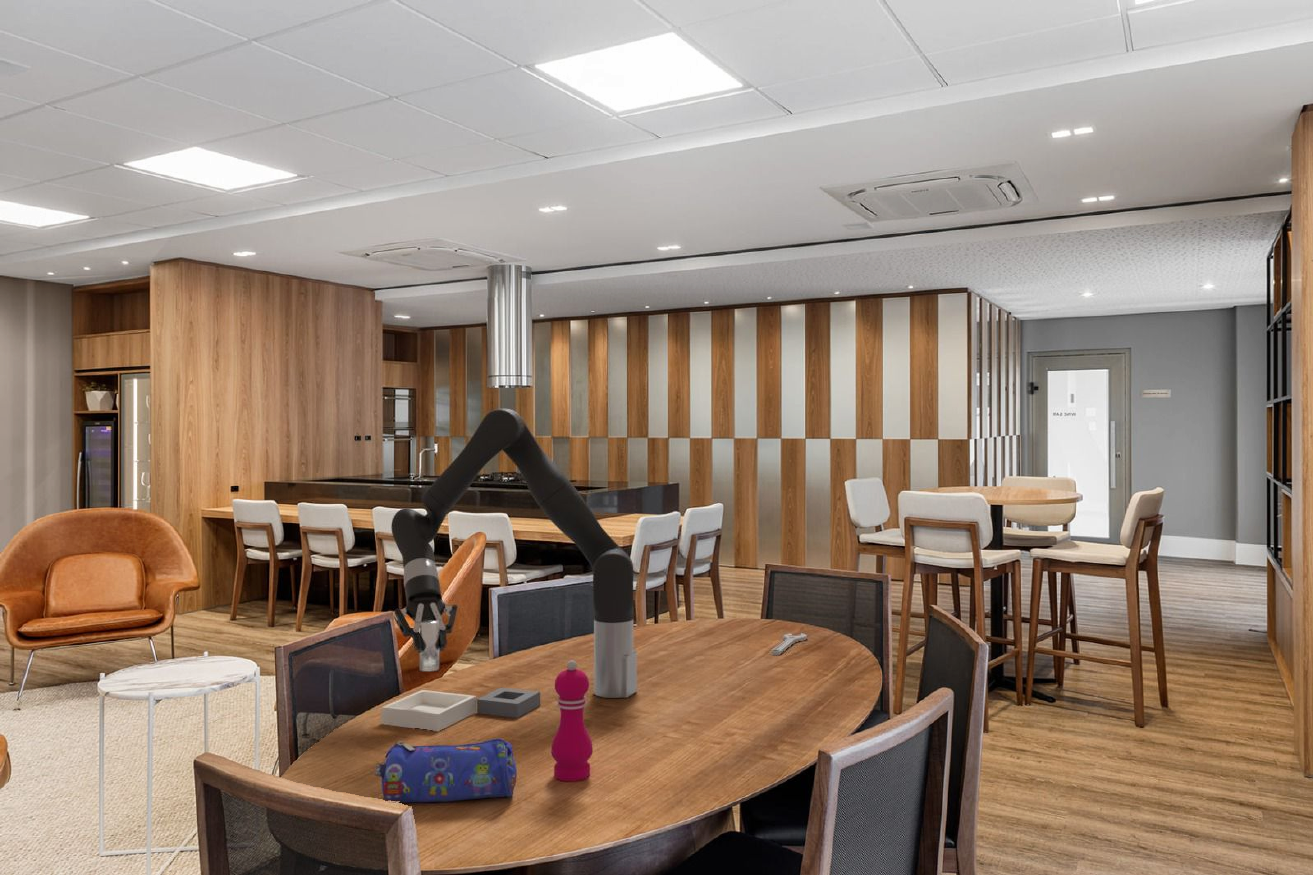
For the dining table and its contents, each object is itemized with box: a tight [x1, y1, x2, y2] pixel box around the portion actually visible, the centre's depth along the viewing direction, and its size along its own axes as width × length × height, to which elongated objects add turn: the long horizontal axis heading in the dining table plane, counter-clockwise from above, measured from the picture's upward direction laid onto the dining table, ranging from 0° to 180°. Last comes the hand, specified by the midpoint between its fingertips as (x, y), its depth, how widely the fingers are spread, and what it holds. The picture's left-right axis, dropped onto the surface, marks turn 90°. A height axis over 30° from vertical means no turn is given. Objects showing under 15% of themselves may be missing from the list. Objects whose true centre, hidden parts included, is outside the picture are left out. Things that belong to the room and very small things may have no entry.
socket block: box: [476, 687, 541, 719], centre depth 195 cm, size 10×10×3 cm
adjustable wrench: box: [770, 632, 808, 656], centre depth 256 cm, size 25×6×2 cm, turn 151°
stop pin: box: [419, 620, 440, 672], centre depth 189 cm, size 4×4×10 cm
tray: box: [381, 689, 477, 733], centre depth 189 cm, size 14×14×4 cm
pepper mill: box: [550, 660, 594, 782], centre depth 156 cm, size 7×7×20 cm
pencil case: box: [374, 738, 518, 803], centre depth 146 cm, size 22×9×10 cm, turn 96°
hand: (431, 649), depth 187 cm, fingers closed on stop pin, 4 cm apart
